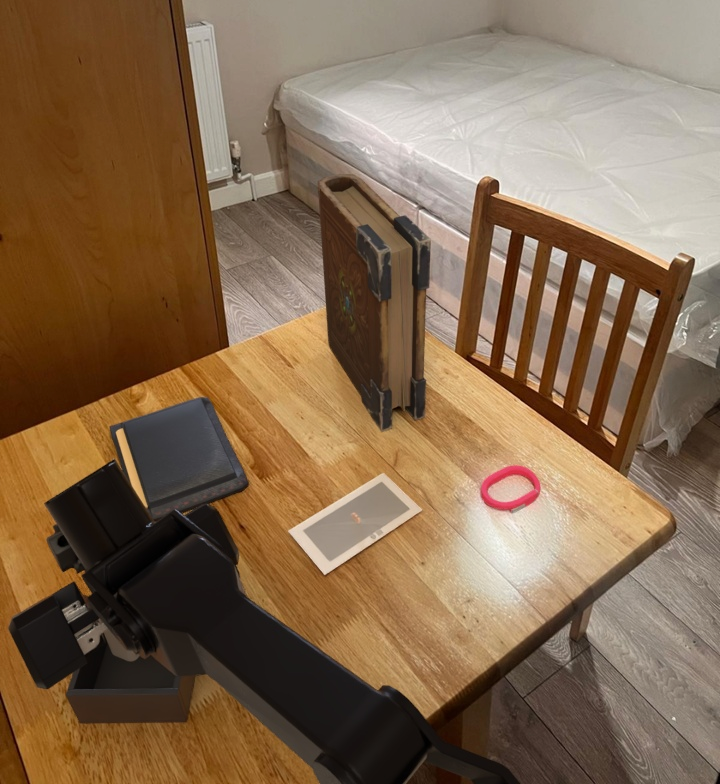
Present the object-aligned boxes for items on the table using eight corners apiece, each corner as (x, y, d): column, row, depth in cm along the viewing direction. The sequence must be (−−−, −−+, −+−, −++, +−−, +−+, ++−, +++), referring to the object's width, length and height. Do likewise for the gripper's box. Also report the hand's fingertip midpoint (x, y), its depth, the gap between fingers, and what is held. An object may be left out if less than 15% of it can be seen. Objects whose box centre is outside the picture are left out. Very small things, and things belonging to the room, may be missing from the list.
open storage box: (186, 722, 72) (177, 694, 69) (79, 723, 72) (65, 695, 69) (205, 621, 81) (198, 592, 78) (109, 623, 81) (98, 594, 78)
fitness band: (500, 521, 91) (501, 513, 90) (471, 489, 95) (472, 482, 94) (549, 494, 94) (550, 486, 94) (519, 465, 99) (520, 457, 98)
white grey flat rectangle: (288, 536, 90) (287, 525, 89) (383, 478, 97) (383, 467, 96) (325, 580, 85) (324, 569, 84) (422, 515, 92) (422, 504, 91)
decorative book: (424, 417, 106) (431, 239, 89) (380, 432, 104) (378, 252, 87) (360, 329, 124) (355, 166, 107) (321, 340, 122) (309, 176, 105)
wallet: (249, 479, 95) (131, 520, 90) (250, 489, 96) (134, 530, 91) (209, 387, 110) (106, 418, 105) (211, 396, 111) (109, 427, 106)
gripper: (204, 443, 62) (167, 462, 75) (-25, 568, 52) (-21, 564, 66) (265, 562, 61) (217, 559, 75) (44, 710, 52) (35, 676, 65)
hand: (117, 584), depth 70 cm, fingers closed on power adapter, 6 cm apart
